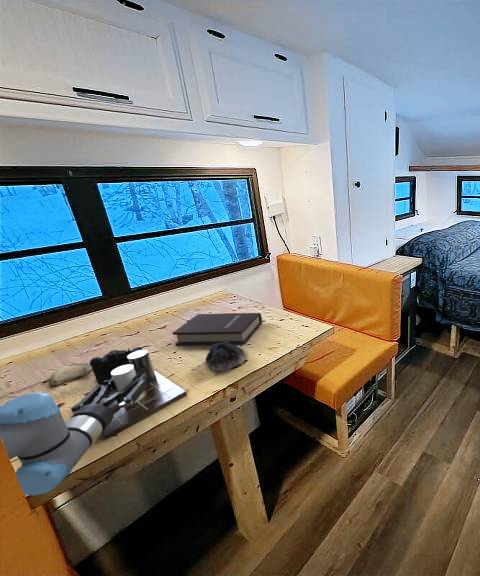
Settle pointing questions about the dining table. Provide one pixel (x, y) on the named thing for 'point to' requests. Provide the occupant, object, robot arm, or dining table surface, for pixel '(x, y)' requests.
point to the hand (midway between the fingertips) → (136, 370)
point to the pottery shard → (69, 373)
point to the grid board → (144, 404)
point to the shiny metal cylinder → (142, 363)
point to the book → (218, 329)
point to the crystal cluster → (224, 356)
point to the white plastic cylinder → (124, 377)
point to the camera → (110, 363)
